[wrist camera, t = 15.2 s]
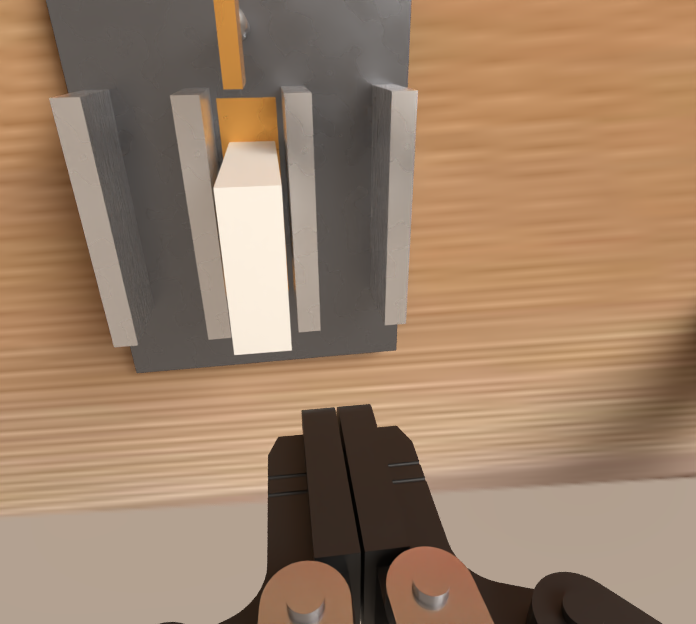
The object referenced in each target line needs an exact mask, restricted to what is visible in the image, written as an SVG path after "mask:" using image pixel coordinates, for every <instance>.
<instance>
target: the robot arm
mask: <svg viewBox="0 0 696 624" xmlns="http://www.w3.org/2000/svg"><path fill="white" fill-rule="evenodd" d="M302 429H303V435H294V436H283V437H278V439H277V440H276V442H275V444H274V446H273V448H272V450H271V451H270V453H269V455H268V550H267V553H268V555H267V574H266V577H265V580H264V583H263V585H262V588H261V589H260V591H259V592H258V594H257V596H256V597H255V598H254V599H253V601H252V602H251V603H250V604H249V605H248V606H247V607H246V608H245V609H244V610H242V611H241V612H239V613H238V614H236V615H235V616H233V617H231V618H229V619H227V620H225V621H223V622H221V623H219V624H360V621H361V624H662V623H660V622H659V621H657V620H656V619H654V618H653V617H651V616H649V615H648V614H646V613H645V612H643V611H642V610H640V609H639V608H637V607H636V606H634V605H632V604H631V603H629V602H628V601H626V600H625V599H623V598H621V597H620V596H618V595H617V594H615V593H614V592H612V591H610V590H609V589H607V588H605V587H604V586H602V585H601V584H600V583H598V582H596V581H594V580H592V579H590V578H588V577H586V576H583V575H580V574H576V573H571V572H558V573H553V574H550V575H547V576H545V577H544V578H543V579H541V580H540V582H539V583H538V584H537V585H536V587H535V589H530V588H525V587H520V586H514V585H509V584H504V583H499V582H495V581H491V580H488V579H486V578H483V577H481V576H479V575H477V574H475V573H474V572H472V571H471V570H470V569H468V568H467V567H466V566H465V565H464V564H463V563H462V562H461V561H460V560H459V559H458V558H457V557H456V556H455V554H454V553H453V551H452V550H451V548H450V546H449V543H448V541H447V538H446V535H445V532H444V529H443V527H442V524H441V521H440V519H439V516H438V513H437V510H436V507H435V504H434V501H433V499H432V496H431V493H430V490H429V487H428V485H427V482H426V481H425V476H424V473H423V471H422V468H421V465H419V460H418V457H417V454H416V451H415V448H414V446H413V443H412V441H411V440H410V439H409V438H408V437H407V436H406V435H405V434H404V433H403V432H402V431H401V430H400V429H399V428H398V427H397V426H389V427H378V428H377V424H376V421H375V417H374V414H373V410H372V407H371V405H370V404H366V405H355V406H343V407H337V416H336V410H335V408H322V409H311V410H302ZM161 624H183V623H177V622H166V623H161Z"/></svg>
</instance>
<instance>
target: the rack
mask: <svg viewBox="0 0 696 624" xmlns="http://www.w3.org/2000/svg"><path fill="white" fill-rule="evenodd" d="M46 3H47V7H48V11H49V15H50V19H51V23H52V27H53V31H54V36H55V40H56V44H57V48H58V52H59V56H60V60H61V64H62V68H63V73H64V77H65V81H66V85H67V89H68V94H64V95H59V96H55V97H51V98H49V100H50V104H51V108H52V111H53V115H54V119H55V123H56V127H57V131H58V134H59V138H60V142H61V146H62V150H63V153H64V157H65V161H66V165H67V169H68V173H69V176H70V180H71V184H72V188H73V192H74V196H75V199H76V203H77V207H78V211H79V215H80V219H81V222H82V226H83V230H84V234H85V238H86V242H87V245H88V249H89V253H90V257H91V261H92V265H93V268H94V272H95V276H96V280H97V284H98V288H99V291H100V295H101V299H102V303H103V307H104V311H105V314H106V318H107V322H108V326H109V330H110V333H111V337H112V341H113V345H114V347H125V346H130V348H131V352H132V356H133V360H134V364H135V368H136V372H137V373H144V372H156V371H167V370H178V369H190V368H201V367H212V366H224V365H235V364H246V363H258V362H269V361H280V360H292V359H303V358H314V357H326V356H337V355H348V354H360V353H371V352H382V351H394V350H396V343H397V324H406V310H407V291H408V272H409V252H410V233H411V214H412V195H413V176H414V156H415V137H416V118H417V99H418V90H414V89H410V88H408V65H409V42H410V19H411V0H46ZM256 141H275V144H276V151H277V158H278V164H279V171H280V178H281V185H282V201H283V217H284V233H285V249H286V265H287V281H288V297H289V313H290V329H291V345H292V350H291V351H279V352H267V353H254V354H242V355H234V348H233V340H232V332H231V324H230V316H229V308H228V300H227V292H226V284H225V276H224V268H223V260H222V252H221V244H220V236H219V228H218V220H217V212H216V204H215V196H214V185H215V182H216V179H217V176H218V173H219V171H220V168H221V165H222V162H223V159H224V156H225V153H226V150H227V147H228V144H229V142H256Z"/></svg>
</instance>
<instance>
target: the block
mask: <svg viewBox="0 0 696 624" xmlns="http://www.w3.org/2000/svg"><path fill="white" fill-rule="evenodd" d="M214 196H215V204H216V212H217V220H218V228H219V236H220V244H221V252H222V260H223V268H224V276H225V284H226V292H227V300H228V308H229V316H230V324H231V332H232V340H233V348H234V355H242V354H254V353H267V352H279V351H291V350H292V345H291V329H290V313H289V297H288V281H287V265H286V249H285V233H284V217H283V201H282V185H281V178H280V171H279V164H278V158H277V151H276V144H275V141H256V142H229V144H228V147H227V150H226V153H225V156H224V159H223V162H222V165H221V168H220V171H219V173H218V176H217V179H216V182H215V185H214Z"/></svg>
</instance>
